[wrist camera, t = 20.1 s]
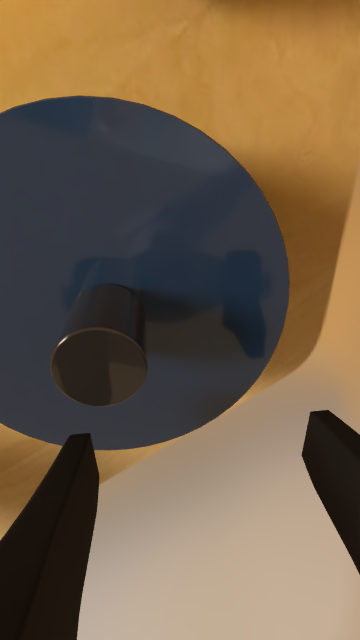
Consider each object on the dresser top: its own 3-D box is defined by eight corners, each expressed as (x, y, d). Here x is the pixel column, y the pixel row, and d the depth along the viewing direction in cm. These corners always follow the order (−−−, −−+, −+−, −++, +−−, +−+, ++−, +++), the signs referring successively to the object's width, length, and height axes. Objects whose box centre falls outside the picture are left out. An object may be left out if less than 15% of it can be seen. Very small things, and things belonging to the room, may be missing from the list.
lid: (300, 97, 10) (395, 64, 6) (263, 417, 16) (300, 499, 12) (-158, 105, 9) (-369, 71, 5) (-16, 445, 15) (-69, 543, 11)
